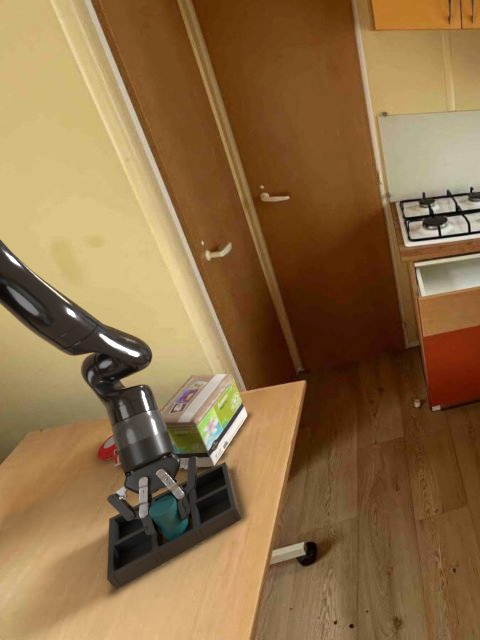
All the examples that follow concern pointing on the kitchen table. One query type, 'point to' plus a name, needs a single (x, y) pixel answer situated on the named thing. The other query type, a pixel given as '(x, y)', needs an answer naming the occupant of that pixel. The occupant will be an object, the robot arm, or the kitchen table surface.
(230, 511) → the grid
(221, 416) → the tea box
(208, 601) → the kitchen table surface
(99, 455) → the tracker holder
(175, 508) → the cylinder
